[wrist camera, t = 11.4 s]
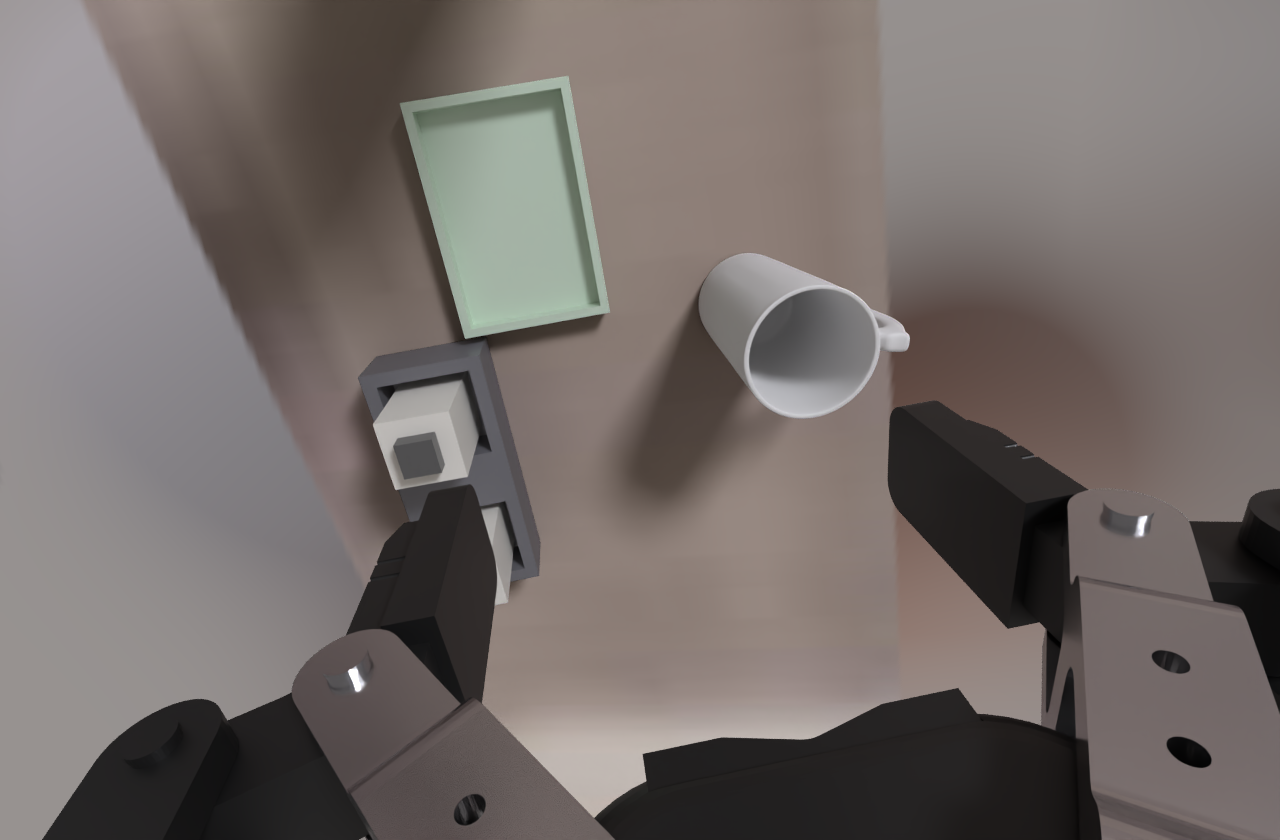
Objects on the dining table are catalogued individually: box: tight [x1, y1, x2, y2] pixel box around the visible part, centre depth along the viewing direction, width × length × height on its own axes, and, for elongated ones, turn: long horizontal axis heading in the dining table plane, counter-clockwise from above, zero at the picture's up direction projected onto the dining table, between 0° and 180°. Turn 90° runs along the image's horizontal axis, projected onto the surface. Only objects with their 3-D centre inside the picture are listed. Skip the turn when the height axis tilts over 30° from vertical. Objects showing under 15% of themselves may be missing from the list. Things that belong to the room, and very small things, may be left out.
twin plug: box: [480, 502, 515, 605], centre depth 40 cm, size 4×4×8 cm
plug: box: [373, 371, 482, 490], centre depth 36 cm, size 4×4×8 cm
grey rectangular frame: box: [358, 337, 540, 582], centre depth 41 cm, size 16×7×4 cm, turn 9°
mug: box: [699, 253, 910, 419], centre depth 36 cm, size 10×7×12 cm, turn 90°
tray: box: [400, 76, 610, 339], centre depth 36 cm, size 13×9×2 cm
